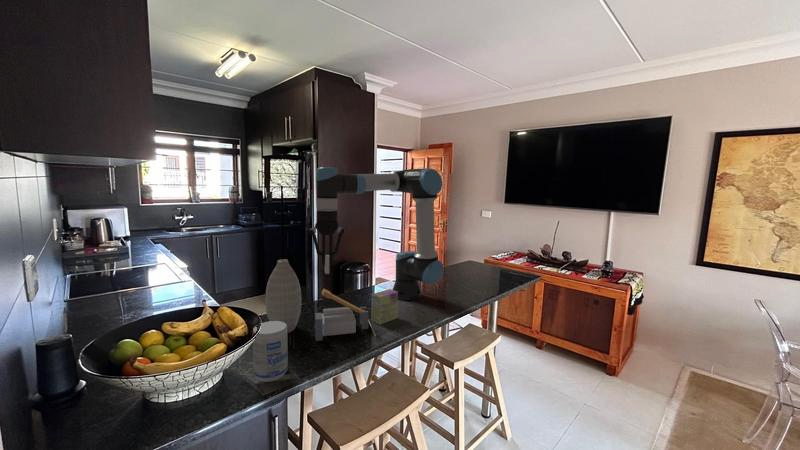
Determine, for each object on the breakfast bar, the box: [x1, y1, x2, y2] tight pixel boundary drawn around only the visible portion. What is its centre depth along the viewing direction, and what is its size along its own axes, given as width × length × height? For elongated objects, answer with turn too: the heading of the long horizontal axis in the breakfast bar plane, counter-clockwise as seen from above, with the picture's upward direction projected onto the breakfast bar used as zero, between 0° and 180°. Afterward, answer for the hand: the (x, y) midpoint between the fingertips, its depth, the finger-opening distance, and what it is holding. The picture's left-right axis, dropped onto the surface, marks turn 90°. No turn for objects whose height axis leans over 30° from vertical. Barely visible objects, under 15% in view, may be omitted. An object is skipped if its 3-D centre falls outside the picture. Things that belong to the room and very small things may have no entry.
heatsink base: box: [322, 306, 377, 338], centre depth 126 cm, size 24×18×8 cm
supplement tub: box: [252, 320, 289, 383], centre depth 96 cm, size 10×10×15 cm
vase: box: [265, 258, 302, 334], centre depth 123 cm, size 13×13×28 cm
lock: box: [314, 312, 324, 342], centre depth 118 cm, size 2×6×8 cm, turn 16°
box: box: [370, 288, 399, 325], centre depth 138 cm, size 10×6×12 cm, turn 134°
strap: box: [321, 288, 365, 315], centre depth 126 cm, size 19×4×2 cm
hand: (327, 272), depth 122 cm, fingers closed
